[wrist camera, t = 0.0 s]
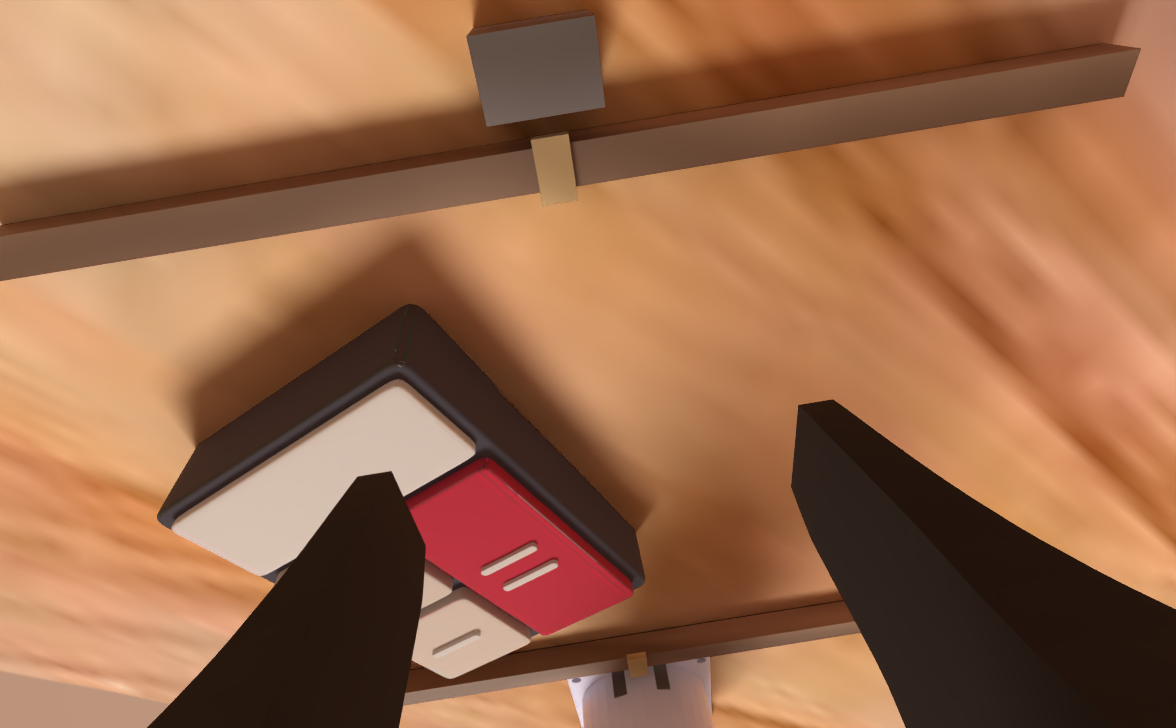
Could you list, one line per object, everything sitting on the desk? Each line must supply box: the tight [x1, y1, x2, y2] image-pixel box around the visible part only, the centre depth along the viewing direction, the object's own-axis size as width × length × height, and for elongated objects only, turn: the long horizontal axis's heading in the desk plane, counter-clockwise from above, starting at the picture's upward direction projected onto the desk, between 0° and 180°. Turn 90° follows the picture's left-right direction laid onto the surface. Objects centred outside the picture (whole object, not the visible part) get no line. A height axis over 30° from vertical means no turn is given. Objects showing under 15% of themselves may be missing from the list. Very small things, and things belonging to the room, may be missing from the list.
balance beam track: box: [0, 9, 1141, 706], centre depth 24 cm, size 33×32×2 cm
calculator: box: [157, 304, 645, 679], centre depth 23 cm, size 11×4×15 cm
